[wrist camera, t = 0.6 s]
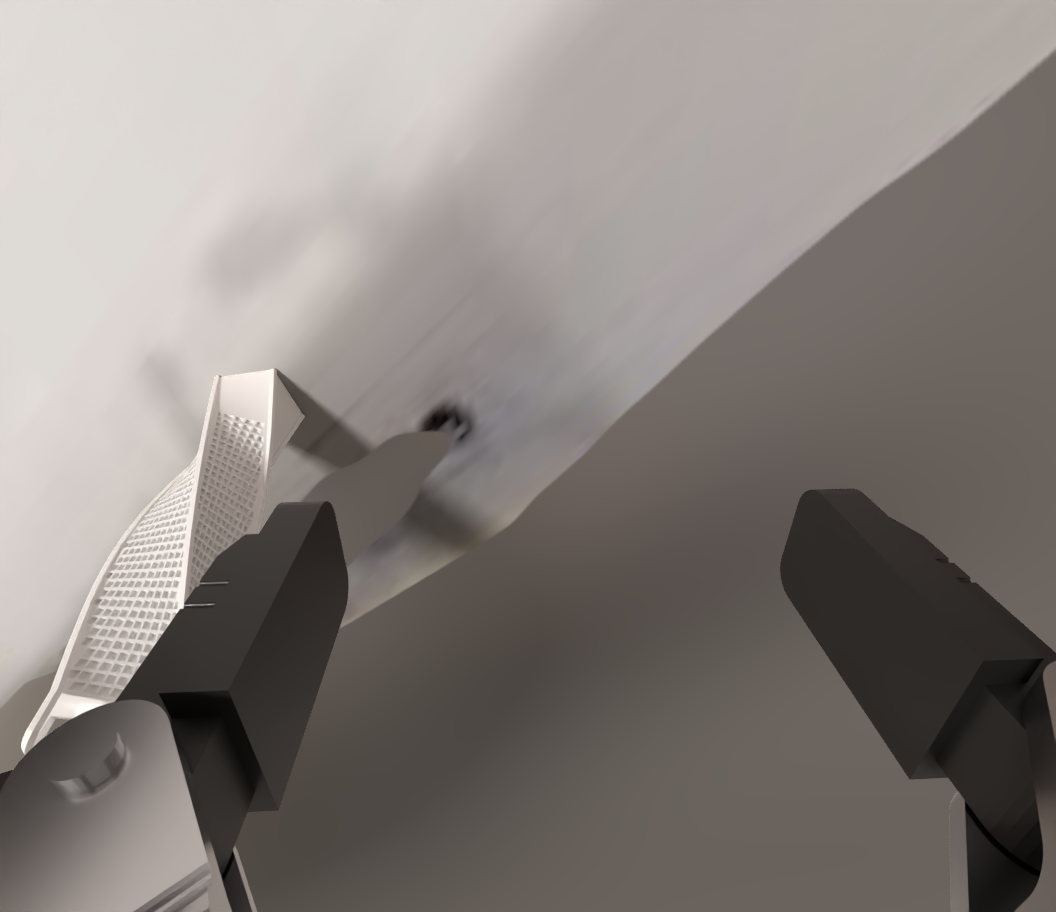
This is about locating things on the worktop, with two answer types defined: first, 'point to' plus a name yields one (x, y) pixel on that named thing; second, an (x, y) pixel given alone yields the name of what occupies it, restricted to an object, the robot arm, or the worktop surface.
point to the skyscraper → (173, 545)
